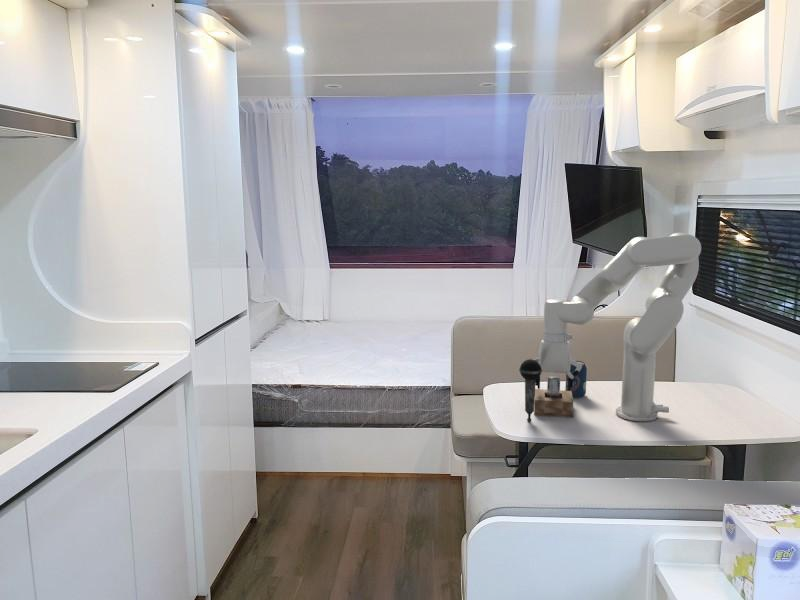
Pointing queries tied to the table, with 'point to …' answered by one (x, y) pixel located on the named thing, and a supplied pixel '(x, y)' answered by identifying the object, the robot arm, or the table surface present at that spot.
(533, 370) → the microphone
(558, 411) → the socket block
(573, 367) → the soda can
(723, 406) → the table surface
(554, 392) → the pin
